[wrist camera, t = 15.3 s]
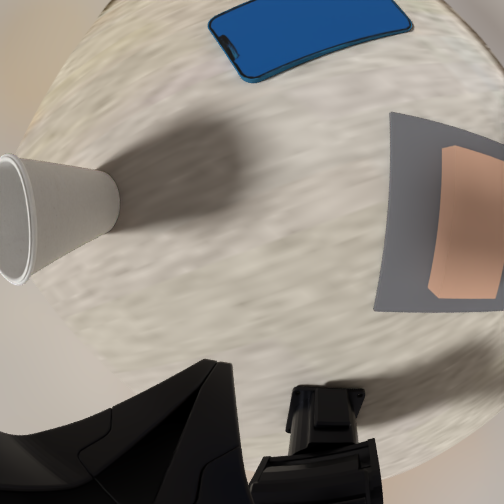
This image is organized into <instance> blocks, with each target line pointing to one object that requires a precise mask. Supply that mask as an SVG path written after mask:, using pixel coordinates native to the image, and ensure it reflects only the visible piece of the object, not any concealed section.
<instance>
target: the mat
mask: <svg viewBox="0 0 504 504" xmlns="http://www.w3.org/2000/svg"><path fill="white" fill-rule="evenodd" d="M389 115H390V184H389V201H388V214H387V224H386V234H385V242H384V250H383V257H382V264H381V271H380V277H379V282H378V288H377V293H376V299H375V304H374V308H373V309H374V311H379V312H429V313H441V312H488V311H504V266H503V271H502V275H501V279H500V283H499V287H498V291H497V295H496V298H495V299H452V298H438V297H437V296H436V295H435V294H434V293H433V292H431V291H430V290H429V289H428V283H429V279H430V274H431V269H432V263H433V258H434V252H435V245H436V238H437V231H438V222H439V212H440V200H441V181H442V148H446V147H450V146H455V145H456V146H459V147H463V148H466V149H469V150H473V151H476V152H479V153H482V154H485V155H488V156H491V157H494V158H496V159H499V160H502V161H504V145H503V144H501V143H498V142H496V141H493V140H491V139H488V138H485V137H483V136H480V135H477V134H474V133H471V132H468V131H465V130H462V129H459V128H456V127H453V126H449V125H446V124H442V123H439V122H435V121H431V120H427V119H423V118H419V117H414V116H410V115H405V114H400V113H395V112H390V113H389Z"/></svg>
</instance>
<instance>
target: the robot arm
mask: <svg viewBox="0 0 504 504" xmlns="http://www.w3.org/2000/svg"><path fill="white" fill-rule="evenodd" d="M298 391H299V392H298ZM358 394H360V395H358ZM364 398H365V390H364V389H338V388H314V387H294V388H293V390H292V396H291V402H290V408H289V413H288V419H287V424H286V432H287V433H291V436H290V444H289V452H288V456H278V457H271V456H266V457H263V459H262V461H261V463H260V464H259V466H258V468H257V470H256V472H255V474H254V476H253V478H252V479H251V481H250V483H249V485H248V482H247V478H246V474H245V469H244V463H243V457H242V449H241V442H240V433H239V425H238V416H237V407H236V397H235V387H234V377H233V367H232V364H231V363H227V362H217V361H215V360H210V359H203V360H201V361H199V362H197V363H196V364H194V365H192V366H190V367H188V368H187V369H185V370H183V371H181V372H179V373H178V374H176V375H174V376H172V377H170V378H168V379H167V380H165V381H163V382H161V383H159V384H157V385H155V386H153V387H151V388H149V389H147V390H146V391H144V392H142V393H140V394H138V395H136V396H134V397H132V398H130V399H128V400H125V401H124V402H121V403H119V404H117V405H115V406H113V407H112V408H109V409H106V410H104V411H102V412H100V413H98V414H95V415H93V416H90V417H88V418H85V419H83V420H80V421H77V422H74V423H71V424H68V425H65V426H61V427H57V428H54V429H50V430H46V431H43V432H39V433H34V434H30V435H11V434H7V433H3V432H0V504H383V492H382V483H381V474H380V467H379V461H378V455H377V449H376V443H375V438H372V439H368V441H365V442H361V443H359V442H358V434H357V425H356V418H357V415H358V413H359V410H360V408H361V405H362V403H363V400H364Z"/></svg>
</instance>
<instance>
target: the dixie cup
mask: <svg viewBox="0 0 504 504" xmlns="http://www.w3.org/2000/svg"><path fill="white" fill-rule="evenodd" d="M119 210H120V197H119V192H118V188H117V186H116V184H115V182H114V180H113V179H112V178H111V176H110V175H108V174H107V173H105V172H103V171H98V170H92V169H87V168H81V167H75V166H70V165H64V164H57V163H51V162H45V161H38V160H31V159H24V158H19V157H17V156H16V155H14V154H11V153H8V154H5V155H3V156H1V157H0V273H1V274H2V276H3V277H4V278H5V279H6V280H8V281H9V282H10V283H12V284H14V285H23V284H25V283H26V282H27V281H28V280H29V278H30V277H31V275H33V274H34V273H36V272H38V271H39V270H41V269H42V268H44V267H46V266H47V265H49V264H51V263H52V262H54V261H56V260H58V259H59V258H61V257H63V256H65V255H66V254H68V253H70V252H72V251H73V250H75V249H77V248H79V247H81V246H82V245H84V244H86V243H88V242H90V241H92V240H94V239H96V238H98V237H99V236H101V235H103V234H105V233H107V232H108V231H110V230H111V229H112V227H113V226H114V225H115V223H116V221H117V218H118V215H119Z"/></svg>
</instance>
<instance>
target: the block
mask: <svg viewBox="0 0 504 504" xmlns="http://www.w3.org/2000/svg"><path fill="white" fill-rule="evenodd" d="M503 266H504V161H502V160H499V159H496V158H494V157H491V156H488V155H485V154H482V153H479V152H476V151H473V150H469V149H466V148H463V147H459V146H456V145H455V146H450V147H446V148H442V181H441V200H440V212H439V222H438V231H437V238H436V245H435V252H434V258H433V263H432V269H431V274H430V279H429V283H428V289H429V290H430V291H431V292H433V293H434V294H435V295H436V296H437V297H438V298H452V299H495V298H496V295H497V291H498V287H499V283H500V279H501V275H502V271H503Z"/></svg>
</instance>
